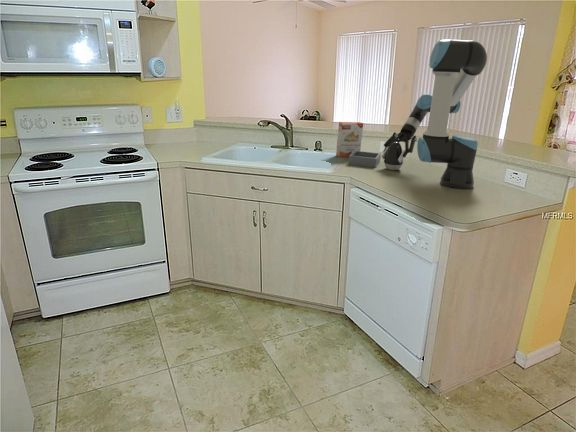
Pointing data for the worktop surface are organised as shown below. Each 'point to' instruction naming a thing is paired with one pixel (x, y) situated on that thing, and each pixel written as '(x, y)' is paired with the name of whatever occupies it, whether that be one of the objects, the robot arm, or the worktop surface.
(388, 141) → the robot arm
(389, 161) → the dark rounded piece
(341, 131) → the cracker box
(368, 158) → the drying tray
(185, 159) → the worktop surface
